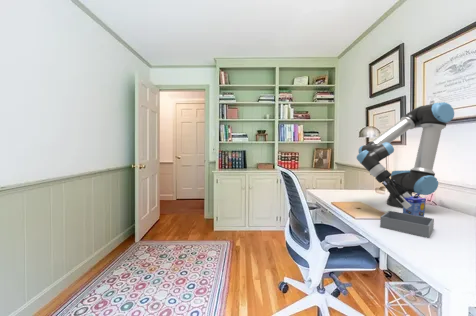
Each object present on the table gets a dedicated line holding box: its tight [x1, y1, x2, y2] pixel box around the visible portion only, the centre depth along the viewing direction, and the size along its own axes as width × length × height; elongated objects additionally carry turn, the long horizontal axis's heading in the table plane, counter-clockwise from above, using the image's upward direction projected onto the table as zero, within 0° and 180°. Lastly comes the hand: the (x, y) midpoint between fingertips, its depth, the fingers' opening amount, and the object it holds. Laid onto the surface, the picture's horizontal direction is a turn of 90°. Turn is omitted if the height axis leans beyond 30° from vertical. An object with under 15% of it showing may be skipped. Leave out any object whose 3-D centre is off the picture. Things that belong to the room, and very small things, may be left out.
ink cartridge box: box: [402, 193, 427, 217], centre depth 120 cm, size 10×6×14 cm, turn 113°
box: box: [379, 210, 435, 239], centre depth 109 cm, size 15×18×5 cm
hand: (411, 205), depth 120 cm, fingers open, 13 cm apart
